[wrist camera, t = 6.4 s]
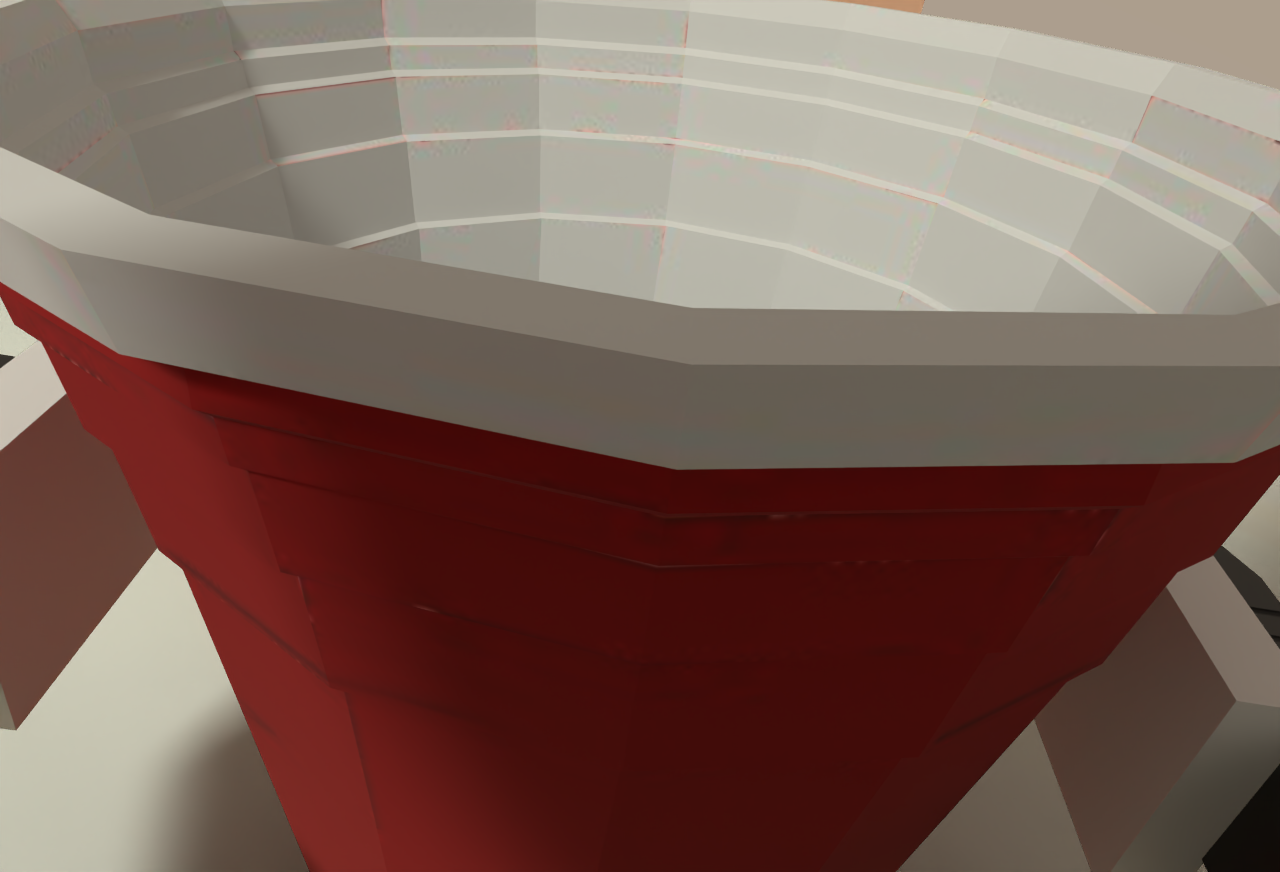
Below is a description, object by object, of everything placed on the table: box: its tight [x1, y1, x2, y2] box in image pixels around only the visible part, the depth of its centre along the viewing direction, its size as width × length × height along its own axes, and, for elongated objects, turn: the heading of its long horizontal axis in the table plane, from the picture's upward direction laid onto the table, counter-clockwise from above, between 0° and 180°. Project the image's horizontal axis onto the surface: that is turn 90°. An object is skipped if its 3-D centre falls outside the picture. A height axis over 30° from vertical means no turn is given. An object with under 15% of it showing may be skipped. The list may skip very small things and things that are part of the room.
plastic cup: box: [0, 0, 1280, 872], centre depth 10 cm, size 11×11×12 cm
